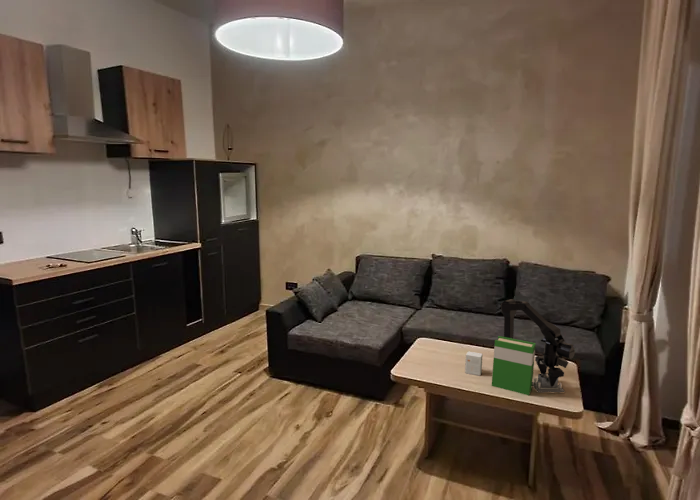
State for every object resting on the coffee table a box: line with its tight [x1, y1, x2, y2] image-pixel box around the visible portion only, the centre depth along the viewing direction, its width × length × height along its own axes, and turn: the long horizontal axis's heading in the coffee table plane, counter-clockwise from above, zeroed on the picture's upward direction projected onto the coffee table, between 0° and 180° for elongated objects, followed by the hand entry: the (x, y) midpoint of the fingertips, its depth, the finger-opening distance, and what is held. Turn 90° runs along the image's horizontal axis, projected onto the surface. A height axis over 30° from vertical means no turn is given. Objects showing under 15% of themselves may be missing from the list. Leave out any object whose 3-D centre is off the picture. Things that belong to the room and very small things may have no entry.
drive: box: [537, 373, 559, 388], centre depth 216 cm, size 8×4×6 cm, turn 90°
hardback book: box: [491, 335, 537, 396], centre depth 215 cm, size 18×7×24 cm, turn 58°
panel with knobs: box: [532, 377, 566, 393], centre depth 216 cm, size 13×9×4 cm
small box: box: [464, 351, 483, 377], centre depth 232 cm, size 8×6×10 cm
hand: (547, 381), depth 216 cm, fingers open, 9 cm apart
